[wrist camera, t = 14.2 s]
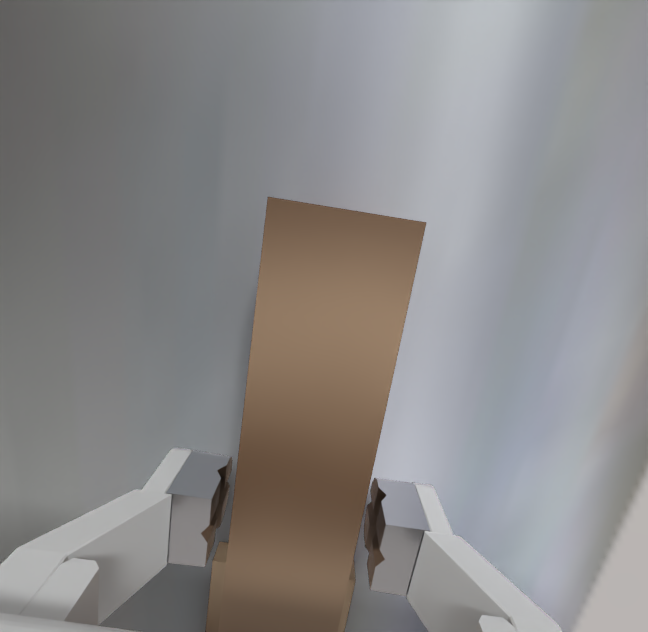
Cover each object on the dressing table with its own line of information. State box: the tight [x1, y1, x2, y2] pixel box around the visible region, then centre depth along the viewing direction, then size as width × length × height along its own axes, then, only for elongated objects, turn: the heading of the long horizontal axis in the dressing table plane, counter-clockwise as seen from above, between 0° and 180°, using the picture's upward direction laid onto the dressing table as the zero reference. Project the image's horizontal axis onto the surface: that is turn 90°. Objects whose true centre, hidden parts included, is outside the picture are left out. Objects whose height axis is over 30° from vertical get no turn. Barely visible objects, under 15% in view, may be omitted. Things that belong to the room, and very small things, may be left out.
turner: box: [205, 197, 426, 632], centre depth 11 cm, size 19×5×4 cm, turn 171°
